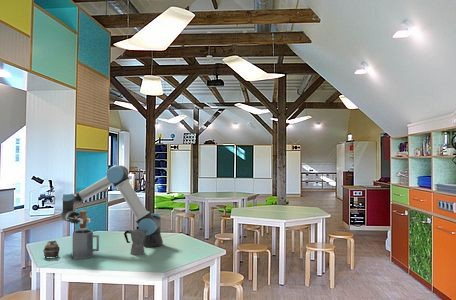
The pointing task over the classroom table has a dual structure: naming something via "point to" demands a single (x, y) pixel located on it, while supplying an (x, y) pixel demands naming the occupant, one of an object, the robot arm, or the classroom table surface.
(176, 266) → the classroom table surface
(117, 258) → the classroom table surface
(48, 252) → the cupcake
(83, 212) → the plunger
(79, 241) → the press carafe
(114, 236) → the classroom table surface
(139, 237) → the coffeepot
